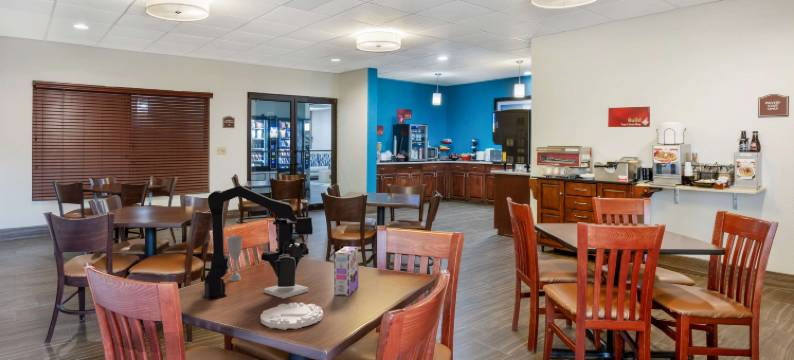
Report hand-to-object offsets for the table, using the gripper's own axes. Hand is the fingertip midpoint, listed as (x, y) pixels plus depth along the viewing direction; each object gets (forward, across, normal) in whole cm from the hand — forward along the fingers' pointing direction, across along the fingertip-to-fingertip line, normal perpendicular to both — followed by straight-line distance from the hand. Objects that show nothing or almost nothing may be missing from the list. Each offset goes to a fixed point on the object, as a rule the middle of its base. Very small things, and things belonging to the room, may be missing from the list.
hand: (285, 275), depth 191 cm
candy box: (+7, +16, -17) cm, 24 cm away
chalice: (+7, -2, +32) cm, 33 cm away
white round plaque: (+7, -18, -26) cm, 32 cm away
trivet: (+6, 0, 0) cm, 7 cm away
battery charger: (+4, 0, 0) cm, 4 cm away
